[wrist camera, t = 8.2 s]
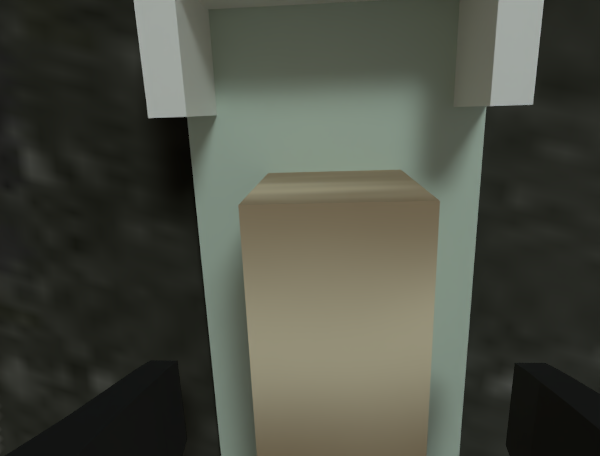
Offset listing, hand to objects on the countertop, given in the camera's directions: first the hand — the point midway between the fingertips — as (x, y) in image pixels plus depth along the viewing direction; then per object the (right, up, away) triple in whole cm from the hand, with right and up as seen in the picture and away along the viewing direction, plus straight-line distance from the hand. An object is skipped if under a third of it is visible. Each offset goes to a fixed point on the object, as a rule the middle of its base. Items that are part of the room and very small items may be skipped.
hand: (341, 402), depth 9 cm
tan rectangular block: (0, -1, +4) cm, 4 cm away
